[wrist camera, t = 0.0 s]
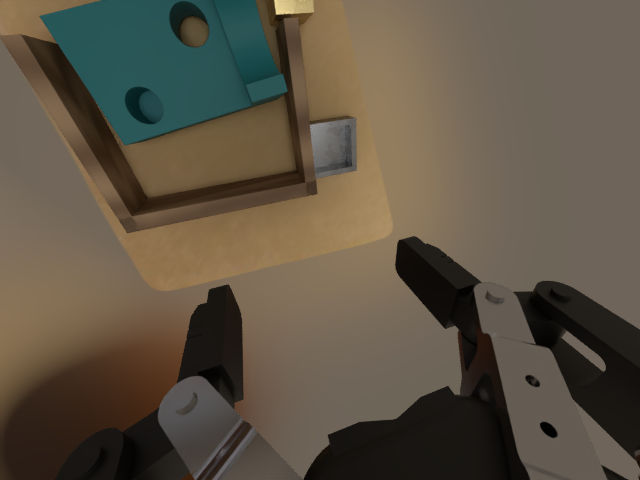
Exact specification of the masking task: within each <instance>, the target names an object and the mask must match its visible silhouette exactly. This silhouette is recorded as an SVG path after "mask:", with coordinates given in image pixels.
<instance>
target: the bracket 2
mask: <svg viewBox="0 0 640 480" xmlns="http://www.w3.org/2000/svg"><path fill="white" fill-rule="evenodd" d="M276 36H277V43H278V49H279V56H280V62H281V69H282V74H283V76H284V80H285V83H286V87H287V90H288V92H286V93H285V96H286V102H287V109H288V115H289V122H290V129H291V135H292V142H293V149H294V155H295V162H296V168H297V171H293V172H288V173H282V174H277V175H272V176H266V177H261V178H255V179H250V180H245V181H239V182H234V183H228V184H223V185H218V186H212V187H207V188H201V189H196V190H190V191H185V192H180V193H174V194H169V195H163V196H158V197H153V198H147V197H146V195H145V194H144V192H143V190H142V188H141V186H140V184H139V183H138V181H137V179H136V177H135V175H134V173H133V171H132V170H131V168H130V166H129V164H128V162H127V160H126V159H125V157H124V155H123V153H122V151H121V149H120V148H119V146H118V144H117V142H116V140H115V138H114V136H113V135H112V133H111V131H110V129H109V127H108V125H107V124H106V122H105V120H104V118H103V116H102V114H101V113H100V111H99V109H98V107H97V105H96V103H95V101H94V100H93V98H92V96H91V94H90V92H89V90H88V89H87V87H86V86H85V84H84V83H83V81H82V80H81V78H80V77H79V75H78V74H77V72H76V71H75V69H74V68H73V66H72V65H71V63H70V62H69V60H68V59H67V57H66V56H65V54H64V53H63V51H62V50H61V48H60V47H59V45H58V44H55V43H52V42H48V41H44V40H40V39H36V38H32V37H29V36H25V35H21V34H20V35H4V36H0V39H1V40H2V42H3V43H4V45H5V46H6V48H7V49H8V51H9V52H10V54H11V55H12V57H13V58H14V60H15V62H16V63H17V65H18V66H19V68H20V69H21V71H22V72H23V74H24V75H25V77H26V78H27V80H28V82H29V83H30V85H31V86H32V88H33V89H34V91H35V92H36V94H37V95H38V97H39V98H40V100H41V101H42V103H43V105H44V106H45V108H46V109H47V111H48V112H49V114H50V115H51V117H52V118H53V120H54V121H55V123H56V125H57V126H58V128H59V129H60V131H61V132H62V134H63V135H64V137H65V138H66V140H67V141H68V143H69V144H70V146H71V148H72V149H73V151H74V152H75V154H76V155H77V157H78V158H79V160H80V161H81V163H82V164H83V166H84V168H85V169H86V171H87V172H88V174H89V175H90V177H91V178H92V180H93V181H94V183H95V184H96V186H97V187H98V189H99V191H100V192H101V194H102V195H103V197H104V198H105V200H106V201H107V203H108V204H109V206H110V207H111V209H112V211H113V212H114V214H115V215H116V217H117V218H118V220H119V221H120V223H121V224H122V226H123V227H124V229H125V230H126V232H127V233H131V232H135V231H140V230H145V229H150V228H155V227H160V226H164V225H169V224H174V223H179V222H184V221H189V220H193V219H198V218H203V217H208V216H213V215H218V214H223V213H227V212H232V211H237V210H242V209H247V208H252V207H256V206H261V205H266V204H271V203H276V202H281V201H285V200H290V199H295V198H300V197H305V196H310V195H314V194H317V186H316V177H315V168H314V159H313V149H312V140H311V131H310V122H309V112H308V103H307V94H306V85H305V75H304V66H303V57H302V48H301V39H300V29H299V20H298V18H284V19H283V20H282V22H281V23H280V25H279V27H278V28H277V30H276Z"/></svg>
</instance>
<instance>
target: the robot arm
mask: <svg viewBox="0 0 640 480" xmlns="http://www.w3.org/2000/svg"><path fill="white" fill-rule="evenodd" d="M395 266H396V271H397V273H398V275H399V277H400V278H401V279H402V280H403V281H404V282H405V283H406V285H407V286H408V287H409V288H410V289H411V290H412V291H413V293H414V294H415V295H416V296H417V297H418V298H419V300H420V301H421V302H422V303H423V304H424V305H425V306H426V308H427V309H428V310H429V311H430V312H431V313H432V314H433V315H434V317H435V318H436V319H437V320H438V321H439V322H440V324H441V325H442V326H443V327H444V328H445V329H447V328H449V327H452V326H456V327H457V328H458V329H459V330H458V344H459V354H460V364H461V373H462V380H461V387H460V395H454V393H453V392H452V391H451V389H450V388H449V386H447V387H444V388H442V389H440V390H437V391H435V392H432V393H430V394H427V395H425V396H422V397H420V398H419V399H418V400H417V401H416V402H415V403H414V404H413V405H412V406H410V407H409V408H408V409H407V410H406V411H405V412H404V413H403V414H402V415H401V416H399V417H398V418H397V419H394V420H381V421H367V422H359V423H356V424H354V425H351V426H349V427H346V428H344V429H341V430H339V431H337V432H334V433H332V434H329V435H328V438H329V443H330V444H329V445H328V446H327V447H326V448H325V449H324V450H322V452H321V453H320V454H319V455H318V456H317V457H316V459H315V460H314V461H313V463H312V464H311V466H310V468H309V469H308V471H307V473H306V475H305V477H304V480H628V479H626V478H624V477H622V476H620V475H619V474H617V473H615V472H613V471H611V470H610V469H608V468H606V467H604V466H602V465H601V464H600V462H599V459H598V457H597V455H596V452H595V450H594V448H593V445H592V443H591V441H590V438H589V436H588V434H587V432H586V429H585V427H584V425H583V422H582V420H581V418H580V415H579V413H578V411H577V408H576V406H575V404H574V402H573V400H574V401H575V402H576V403H577V404H579V406H580V407H582V408H583V410H585V411H586V413H588V414H589V415H590V416H591V417H592V418H593V419H594V420H595V421H596V422H597V423H598V424H599V425H600V426H601V427H602V428H603V429H604V430H605V431H606V432H607V433H608V434H609V435H610V436H611V437H612V438H613V439H614V440H615V441H616V442H617V443H618V444H619V445H620V446H621V447H622V448H623V449H624V450H625V451H627V453H628V454H630V456H632V457H633V458H634V459H635V460H636V462H637V464H638V466H639V468H640V330H639V329H638V328H636V327H635V326H633V325H631V324H630V323H628V322H627V321H625V320H624V319H622V318H620V317H619V316H617V315H615V314H614V313H612V312H611V311H609V310H608V309H606V308H604V307H603V306H601V305H600V304H598V303H596V302H595V301H593V300H592V299H590V298H588V297H587V296H585V295H584V294H582V293H580V292H579V291H577V290H576V289H574V288H572V287H570V286H568V285H565V284H562V283H559V282H554V281H541V282H539V283H537V285H536V286H535V288H534V290H533V292H532V291H531V292H512V291H511V290H509V289H508V288H506V287H504V286H502V285H499V284H495V283H490V282H484V283H482V282H481V281H479V280H478V279H477V278H476V277H474V276H473V275H472V274H470V273H469V272H468V271H467V270H465V269H464V268H463V267H461V266H460V265H459V264H458V263H456V262H454V261H453V259H451V258H450V257H449V256H447V255H446V254H445V253H444V252H442V251H441V250H440V249H439V248H437V247H434V246H432V245H429V244H425V243H423V242H422V241H421V240H420V239H419V238H417V237H415V236H413V237H409V238H405V239H402V240H399V241H398V245H397V254H396V264H395ZM566 331H568V332H569V333H571V334H572V335H573V336H575V337H576V338H577V339H579V340H580V341H581V342H582V343H584V344H585V345H586V346H588V347H589V348H590V349H591V350H593V351H594V352H595V353H597V354H598V355H599V356H600V357H601V358H602V359H603V361H604V362H605V365H606V370H605V371H604V372H603V371H601V370H600V369H599V368H598V367H596V366H595V365H594V364H593V363H591V362H590V361H589V360H588V359H586V358H585V357H584V356H583V355H582V354H580V353H579V352H578V351H577V350H575V349H574V348H573V347H572V346H570V345H569V344H568V343H567V342H566V341H564V340H563V339H562V336H563V335H564V334H565V333H566ZM240 400H243V346H242V318H241V313H240V309H239V306H238V304H237V302H236V299H235V297H234V295H233V292H232V290H231V288H230V286H229V285H224V286H220V287H216V288H212V289H210V290H209V292H208V299H207V303H204V304H200V305H198V307H197V308H196V310H195V311H194V313H193V314H192V316H191V319H190V324H189V330H188V334H187V340H186V343H185V348H184V353H183V357H182V363H181V367H180V372H179V377H178V381H177V384H176V385H175V386H174V387H173V388H172V389H171V390H170V391H169V392H168V393H167V394H166V396H165V397H164V399H163V401H162V403H161V405H160V407H159V408H158V409H156V410H155V411H154V412H153V413H151V414H149V415H148V416H147V417H145V418H143V419H142V420H140V421H139V422H137V423H136V424H134V425H132V426H131V427H129V428H128V429H127V430H125V431H123V432H121V431H120V430H118V429H116V428H107V429H104V430H101V431H99V432H97V433H95V434H93V435H91V436H90V437H89V438H87V439H86V440H85V441H83V442H82V443H81V444H80V445H79V446H78V447H77V448H76V449H75V450H74V451H73V452H72V454H71V455H70V456H69V457H68V458H67V460H66V461H65V462H64V464H63V465H62V467H61V469H60V471H59V473H58V475H57V477H56V479H55V480H181V479H182V478H183V477H185V476H186V475H187V474H188V473H190V472H191V474H192V475H193V477H194V479H195V480H303V479H302V478H301V477H300V476H299V475H298V474H297V473H296V472H295V471H294V470H293V469H292V468H291V467H290V466H289V465H288V464H287V462H286V461H285V460H284V459H283V458H282V457H281V456H280V455H279V454H278V453H277V452H276V451H275V450H274V449H273V448H272V447H271V446H270V444H269V443H268V442H267V441H266V440H265V439H264V438H263V437H262V436H261V435H260V434H259V433H258V432H257V431H256V430H255V429H254V428H253V427H252V426H251V425H250V424H249V423H247V422H246V421H245V420H243V418H242V417H241V416H240V415H239V414H238V413H237V412H236V411H235V410H234V403H235V402H238V401H240ZM638 478H639V480H640V473H639V474H638Z"/></svg>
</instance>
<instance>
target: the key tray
mask: <svg viewBox="0 0 640 480" xmlns="http://www.w3.org/2000/svg"><path fill="white" fill-rule="evenodd" d="M310 131H311V140H312V149H313V159H314V168H315V177H316V178H321V177H326V176H331V175H336V174H341V173H346V172H351V171H357V164H356V118H354V117H350V116H345V117H338V118H331V119H325V120H318V121H311V122H310Z"/></svg>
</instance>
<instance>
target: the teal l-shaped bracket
mask: <svg viewBox="0 0 640 480" xmlns="http://www.w3.org/2000/svg"><path fill="white" fill-rule="evenodd" d="M187 16H197V17H199V18H201V19H202V20H204V21H205V22H206V23H207V24H208V26H209V37H208V40H207V41H206V43H205V44H204V45H203V46H201V47H197V48H193V47H189V46H187V45H185V44H183V43H182V41H181V39H180V35H179V26H180V23H181V21H182V20H183V19H184V18H185V17H187ZM40 18H41V19H42V21H43V22H44V24H45V25H46V27H47V28H48V30H49V31H50V33H51V34H52V36H53V37H54V39H55V40H56V42H57V44H58V45H59V47H60V48H61V50H62V51H63V53H64V54H65V56H66V57H67V59H68V60H69V62H70V63H71V65H72V66H73V68H74V69H75V71H76V72H77V74H78V75H79V77H80V78H81V80H82V81H83V83H84V84H85V86H86V87H87V89H88V90H89V92H90V93H91V95H92V96H93V98H94V99H95V101H96V102H97V104H98V106H99V107H100V109H101V110H102V112H103V113H104V115H105V116H106V118H107V119H108V121H109V122H110V124H111V125H112V127H113V128H114V130H115V131H116V133H117V134H118V136H119V137H120V139H121V140H122V142H123V143H124V145H128V144H133V143H138V142H143V141H146V140H149V139H152V138H156V137H159V136H162V135H165V134H168V133H172V132H175V131H178V130H181V129H184V128H187V127H191V126H194V125H197V124H200V123H203V122H206V121H210V120H213V119H216V118H219V117H222V116H226V115H229V114H232V113H235V112H238V111H241V110H245V109H248V108H251V107H254V106H257V105H260V104H264V103H267V102H270V101H273V100H276V99H278V98H279V97H281V96H282V95H283V94H285V93H286V92H288V90H287V87H286V83H285V80H284V76H283V74H281V73H280V72H279V71H278V69H277V67H276V65H275V63H274V60H273V58H272V55H271V53H270V50H269V47H268V44H267V41H266V38H265V34H264V31H263V28H262V24H261V21H260V17H259V13H258V9H257V5H256V1H255V0H101V1H97V2H93V3H89V4H85V5H81V6H77V7H73V8H70V9H66V10H62V11H58V12H54V13H50V14H46V15H42V16H40Z"/></svg>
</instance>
